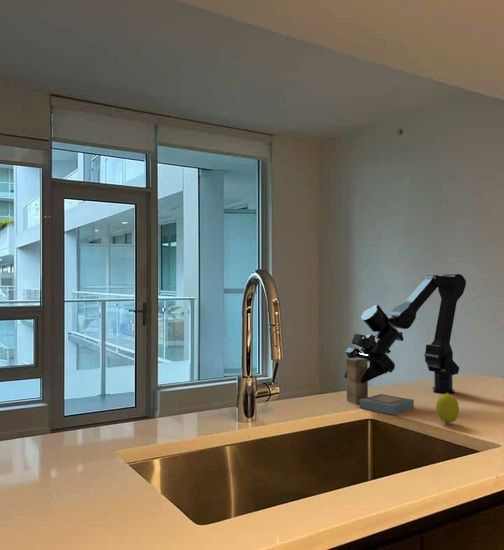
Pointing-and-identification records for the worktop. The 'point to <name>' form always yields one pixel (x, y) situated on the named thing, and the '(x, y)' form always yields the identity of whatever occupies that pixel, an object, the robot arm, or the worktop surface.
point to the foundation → (386, 404)
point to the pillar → (356, 379)
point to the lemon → (447, 408)
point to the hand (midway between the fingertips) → (353, 379)
